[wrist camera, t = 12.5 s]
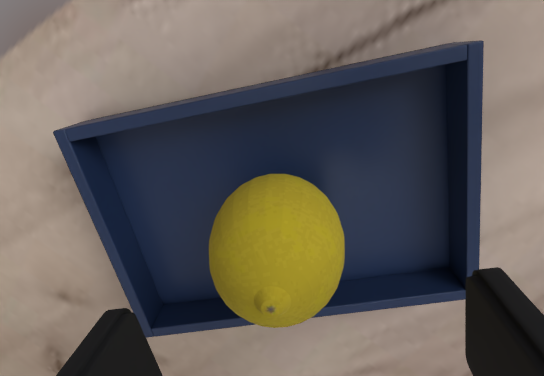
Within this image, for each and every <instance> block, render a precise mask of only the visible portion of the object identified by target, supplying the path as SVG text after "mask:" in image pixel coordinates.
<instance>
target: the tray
mask: <svg viewBox="0 0 544 376" xmlns="http://www.w3.org/2000/svg"><path fill="white" fill-rule="evenodd" d="M482 92H483V41H468V42H453V43H448V44H443V45H439V46H434V47H429V48H425V49H420V50H415V51H410V52H406V53H401V54H396V55H392V56H387V57H382V58H378V59H373V60H368V61H364V62H359V63H354V64H349V65H345V66H340V67H335V68H331V69H326V70H321V71H317V72H312V73H307V74H303V75H298V76H293V77H288V78H284V79H279V80H274V81H270V82H265V83H260V84H256V85H251V86H246V87H242V88H237V89H232V90H227V91H223V92H218V93H213V94H209V95H204V96H199V97H195V98H190V99H185V100H181V101H176V102H171V103H166V104H162V105H157V106H152V107H148V108H143V109H138V110H134V111H129V112H124V113H120V114H115V115H110V116H105V117H101V118H96V119H91V120H87V121H83V122H80V123H77V124H74V125H71V126H68V127H65V128H62V129H59V130H56V131H54V132H53V134H54V136H55V138H56V140H57V143H58V145H59V147H60V149H61V151H62V154H63V156H64V158H65V160H66V163H67V165H68V167H69V169H70V172H71V174H72V176H73V178H74V181H75V183H76V185H77V187H78V189H79V192H80V194H81V196H82V198H83V201H84V203H85V205H86V207H87V210H88V212H89V214H90V216H91V219H92V221H93V223H94V225H95V228H96V230H97V232H98V234H99V236H100V239H101V241H102V243H103V245H104V248H105V250H106V252H107V254H108V257H109V259H110V261H111V263H112V266H113V268H114V270H115V272H116V275H117V277H118V279H119V281H120V283H121V286H122V288H123V290H124V292H125V295H126V297H127V299H128V301H129V304H130V306H131V308H132V310H133V313H134V314H135V315H136V317H137V319H138V321H139V324H140V326H141V328H142V330H143V333H144V335H145V337H153V336H163V335H171V334H179V333H188V332H196V331H204V330H213V329H221V328H230V327H238V326H246V325H255V324H254V323H251V322H249V321H247V320H245V319H244V318H242V317H240V316H238V315H237V314H236V313H235V312H233V311H232V310H231V309H230V308H229V307H228V306H227V305H226V304H225V302H224V301H223V299H222V298H221V296H220V295H219V293H218V292H217V290H216V288H215V285H214V282H213V279H212V276H211V273H210V266H209V239H210V235H211V231H212V227H213V224H214V220H215V217H216V215H217V214H218V212H219V210H220V209H221V207H222V205H223V204H224V202H225V200H226V199H227V198H228V197H229V196H230V195H231V194H232V193H233V192H234V191H235V190H236V189H237V188H238V187H240V186H241V185H242V184H244V183H246V182H248V181H250V180H252V179H254V178H256V177H259V176H263V175H267V174H288V175H292V176H297V177H300V178H302V179H304V180H306V181H308V182H310V183H312V184H313V185H315V186H316V187H317V188H318V189H319V190H320V191H321V192H322V193H324V194H325V195H326V196H327V198H328V199H329V201H330V202H331V204H332V205H333V207H334V208H335V210H336V212H337V214H338V216H339V219H340V223H341V226H342V229H343V233H344V242H345V259H344V267H343V271H342V274H341V277H340V281H339V284H338V287H337V289H336V291H335V293H334V294H333V296H332V297H331V299H330V300H329V302H328V303H327V304H326V305H325V307H323V308H322V309H321V310H320V311H319V312H318V313H317V314H316V315H315V316H313V317H322V316H330V315H338V314H347V313H355V312H363V311H372V310H380V309H388V308H397V307H405V306H414V305H422V304H430V303H439V302H447V301H455V300H464V299H466V278H467V277H470V276H472V273H473V271H474V270H479V245H480V194H481V143H482ZM313 317H311V318H313Z"/></svg>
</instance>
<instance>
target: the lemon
mask: <svg viewBox="0 0 544 376" xmlns="http://www.w3.org/2000/svg"><path fill="white" fill-rule="evenodd" d="M344 259H345V242H344V233H343V229H342V226H341V223H340V219H339V216H338V214H337V212H336V210H335V208H334V207H333V205H332V204H331V202H330V201H329V199H328V198H327V196H326V195H325V194H324V193H322V192H321V191H320V190H319V189H318V188H317V187H316V186H315V185H313V184H312V183H310V182H308V181H306V180H304V179H302V178H300V177H297V176H292V175H288V174H267V175H263V176H259V177H256V178H254V179H252V180H250V181H248V182H246V183H244V184H242V185H241V186H240V187H238V188H237V189H236V190H235V191H234V192H233V193H232V194H231V195H230V196H229V197H228V198H227V199H226V200H225V202H224V204H223V205H222V207H221V209H220V210H219V212H218V214H217V215H216V217H215V220H214V224H213V227H212V231H211V235H210V239H209V266H210V273H211V276H212V279H213V282H214V285H215V288H216V290H217V292H218V293H219V295H220V296H221V298H222V299H223V301H224V302H225V304H226V305H227V306H228V307H229V308H230V309H231V310H232V311H233V312H235V313H236V314H237V315H238V316H240V317H242V318H244V319H245V320H247V321H249V322H251V323H254V324H257V325H260V326H265V327H273V328H277V327H288V326H292V325H296V324H299V323H302V322H304V321H305V320H307V319H309V318H311V317H313V316H315V315H316V314H317V313H318V312H319V311H320V310H321V309H322V308H323V307H325V305H326V304H327V303H328V302H329V300H330V299H331V297H332V296H333V294H334V293H335V291H336V289H337V287H338V284H339V281H340V277H341V274H342V271H343V267H344Z"/></svg>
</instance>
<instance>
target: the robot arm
mask: <svg viewBox="0 0 544 376" xmlns="http://www.w3.org/2000/svg"><path fill="white" fill-rule="evenodd" d="M466 359H467V363H468V365H469V368H470V370H471V372H472V374H473V376H544V315H543V314H542V313H541V312H540V311H539V310H538V309H537V307H536V306H535V305H534V304H533V303H532V302H531V301H530V300H529V299H528V298H527V296H526V295H525V294H524V293H523V292H522V291H521V290H520V289H519V288H518V287H517V285H516V284H515V283H514V282H513V281H512V280H511V279H510V278H509V277H508V275H507V274H506V273H505V272H504V271H503V270H502V269H501V268H489V269H480V270H474V271H473V273H472V276H470V277H467V278H466ZM56 376H162V373H161V371H160V369H159V367H158V364H157V362H156V360H155V357H154V355H153V353H152V351H151V348H150V346H149V344H148V342H147V339H146V337H145V335H144V333H143V330H142V328H141V326H140V324H139V321H138V319H137V317H136V315H135V314H134V313H131V311H130V310H129V309H127V308H122V309H113V310H108V311H106V312H105V313H104V314H103V315H102V316H101V318H100V319H99V320H98V322H97V323H96V324H95V326H94V327H93V328H92V329H91V331H90V332H89V333H88V335H87V336H86V337H85V339H84V340H83V341H82V342H81V344H80V345H79V346H78V348H77V349H76V350H75V352H74V353H73V354H72V356H71V357H70V358H69V359H68V361H67V362H66V363H65V365H64V366H63V367H62V369H61V370H60V371H59V372H58V374H57V375H56Z"/></svg>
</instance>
